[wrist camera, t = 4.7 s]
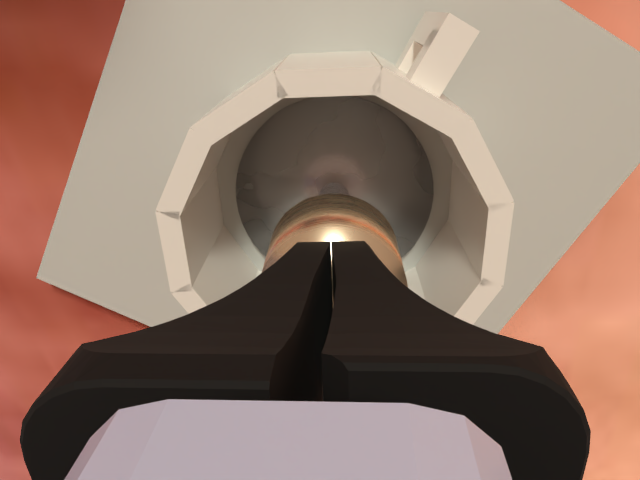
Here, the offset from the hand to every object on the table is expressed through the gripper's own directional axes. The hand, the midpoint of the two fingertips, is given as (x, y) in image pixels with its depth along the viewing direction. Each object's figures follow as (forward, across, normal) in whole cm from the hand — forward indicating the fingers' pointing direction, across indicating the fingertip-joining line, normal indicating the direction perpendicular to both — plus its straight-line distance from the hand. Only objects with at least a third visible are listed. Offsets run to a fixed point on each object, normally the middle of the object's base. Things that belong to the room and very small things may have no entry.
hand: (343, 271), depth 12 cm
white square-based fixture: (+6, 0, 0) cm, 6 cm away
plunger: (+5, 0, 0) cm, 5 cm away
